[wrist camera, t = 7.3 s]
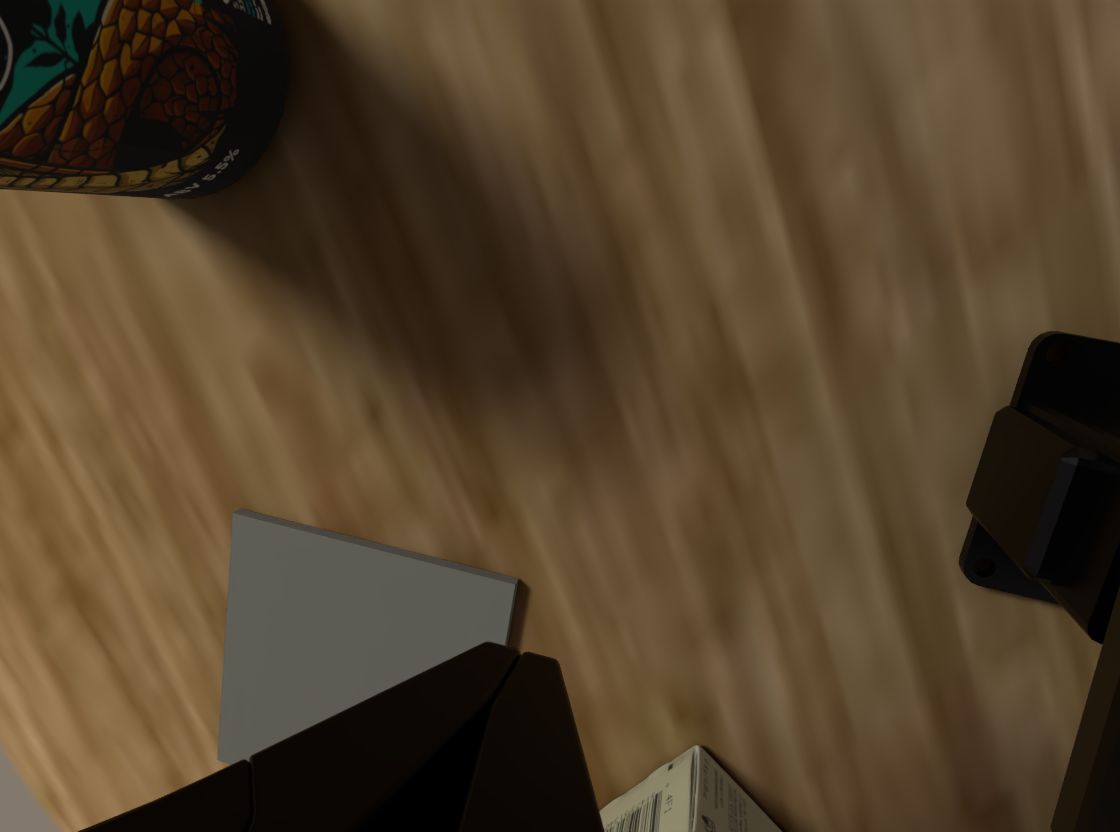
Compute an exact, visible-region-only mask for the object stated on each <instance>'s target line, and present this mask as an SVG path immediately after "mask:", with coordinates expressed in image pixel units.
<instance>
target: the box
mask: <svg viewBox="0 0 1120 832" xmlns="http://www.w3.org/2000/svg"><path fill="white" fill-rule="evenodd" d="M599 812H600V816H601V819H602V823H603V827H604V830H605V832H782V831H781V830H780V829H779V828H778V827H777V826H776V825H775V824H774V822H773V821H772V820H771V819H770V818H769V817H768V816H767V815H766V814H765V813H764V812H763V811H762V810H761V809H760V808H759V807H758V806H757V804H756V803H755V802H754V801H753V800H752V799H751V798H750V797H749V796H748V795H747V794H746V793H745V792H744V791H743V790H742V789H741V788H740V787H739V786H738V785H737V784H736V783H735V781H734V780H733V779H732V778H731V777H730V776H729V775H728V774H727V773H726V772H725V771H724V770H723V769H722V768H721V767H720V766H719V765H718V764H717V763H716V762H715V761H714V760H713V759H712V758H711V757H710V756H709V755H708V753H707V752H706V751H705V750H704V749H703V748H701V747H700V746H698V745H696V746H693V747H692V748H690V749H689V750H687V751H686V752H684V753H683V754H682V755H680V756H679V757H677V758H676V759H674V760H673V761H671V762H669V763H667V764H665V765H663V766H661V767H660V768H658V769H657V770H656V771H654V772H653V773H652V774H651V775H649V776H648V778H647V779H645V780H644V781H642V782H641V783H640V784H638V785H637V786H635V787H634V788H632V789H631V790H630V791H628V792H627V793H625V794H624V795H622V796H620V797H618V798H617V799H615V800H613V801H612V802H611V803H609V804H608V805H607V806H605V807H604V808H603V809H602V810H601V811H599Z"/></svg>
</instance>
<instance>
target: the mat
mask: <svg viewBox="0 0 1120 832" xmlns="http://www.w3.org/2000/svg"><path fill="white" fill-rule="evenodd" d="M518 580H519V579H518V578H514V577H510V576H506V575H502V574H498V573H494V572H490V571H486V570H482V569H478V568H474V567H470V566H466V565H462V564H458V563H454V562H450V561H446V560H442V559H438V558H434V557H430V556H426V555H422V554H418V553H414V552H410V551H406V550H403V549H399V548H395V547H391V546H387V545H383V544H379V543H375V542H371V541H367V540H363V539H359V538H355V537H351V536H347V535H343V534H339V533H335V532H331V531H327V530H323V529H319V528H315V527H311V526H307V525H303V524H299V523H295V522H291V521H287V520H283V519H279V518H275V517H271V516H268V515H264V514H260V513H256V512H252V511H248V510H244V509H239V510H238V511H236V512H234V513H233V521H232V537H231V553H230V569H229V585H228V600H227V616H226V632H225V648H224V664H223V680H222V696H221V712H220V728H219V743H218V759H217V760H219V761H223V762H226V763H229V764H234V763H236V762H238V761H240V760H242V759H246V760H247V761H248V762H249V758H250V756H251V755H253V754H255V753H257V752H259V751H261V750H263V749H265V748H267V747H269V746H271V745H274V744H276V743H278V742H280V741H282V740H284V739H286V738H288V737H290V736H292V735H294V734H296V733H298V732H300V731H302V730H304V729H306V728H309V727H311V726H313V725H315V724H317V723H319V722H321V721H323V720H325V719H327V718H329V717H331V716H333V715H335V714H337V713H339V712H341V711H344V710H346V709H348V708H350V707H352V706H354V705H356V704H358V703H360V702H362V701H364V700H366V699H368V698H370V697H372V696H374V695H376V694H378V693H381V692H383V691H385V690H387V689H389V688H391V687H393V686H395V685H397V684H399V683H401V682H403V681H405V680H407V679H409V678H411V677H413V676H416V675H418V674H420V673H422V672H424V671H426V670H428V669H430V668H432V667H434V666H436V665H438V664H440V663H442V662H444V661H446V660H448V659H451V658H453V657H455V656H457V655H459V654H461V653H463V652H465V651H467V650H469V649H471V648H473V647H475V646H477V645H479V644H481V643H484V642H494V643H497V644H501V645H505V646H507V645H508V639H509V633H510V627H511V621H512V615H513V609H514V604H515V598H516V592H517V586H518Z"/></svg>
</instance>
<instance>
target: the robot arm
mask: <svg viewBox="0 0 1120 832" xmlns="http://www.w3.org/2000/svg"><path fill="white" fill-rule="evenodd" d="M1054 344H1060V345H1061V347H1062V348H1063V354H1062V356H1061V357H1060V359H1059V360H1057V361H1055V362H1051V363H1048V361H1047V359H1046V351H1047V350H1048V348H1049V347H1051V346H1052V345H1054ZM966 506H967V507H968V509H969V510H970V512H971V514H972V515H973V517H972V520H971V524H970V527H969V530H968V533H967V536H966V539H965V542H964V545H963V548H962V551H961V554H960V557H959V566H960V568H961V571H962V572H963V574H964V575H965V576H966V578H967V579H968V580H969V581H970V582H971V583H974V584H976V585H978V586H982V587H987V588H991V589H995V590H1000V591H1004V592H1008V593H1013V594H1017V595H1021V596H1025V597H1030V598H1034V599H1038V600H1043V601H1047V602H1051V603H1056V604H1060V605H1061V606H1062V607H1063V608H1064V609H1065V610H1066V612H1067V613H1068V614H1069V615H1070V616H1071V617H1072V618H1073V619H1074V620H1075V621H1076V623H1077V624H1078V625H1079V626H1080V627H1081V628H1082V629H1083V630H1084V631H1085V633H1086V634H1087V635H1088V636H1089V637H1090V638H1091V639H1092V640H1094V641H1096V642H1098V643H1100V644H1103V645H1102V649H1101V652H1100V656H1099V659H1098V663H1097V666H1096V670H1095V673H1094V677H1093V680H1092V684H1091V687H1090V691H1089V694H1088V698H1087V701H1086V705H1085V708H1084V712H1083V715H1082V719H1081V722H1080V726H1079V729H1078V733H1077V736H1076V740H1075V743H1074V747H1073V750H1072V754H1071V757H1070V761H1069V764H1068V768H1067V771H1066V774H1065V778H1064V781H1063V785H1062V788H1061V792H1060V795H1059V799H1058V802H1057V806H1056V809H1055V813H1054V816H1053V820H1052V823H1051V830H1052V832H1120V343H1119V342H1113V341H1108V340H1102V339H1097V338H1091V337H1086V336H1080V335H1075V334H1069V333H1064V332H1058V331H1048V332H1046V333H1043V334H1040V335H1039V336H1038V337H1036V338H1035V339H1034V340H1033V341H1032V343H1031V345H1030V346H1029V348H1028V351H1027V354H1026V357H1025V360H1024V363H1023V366H1022V369H1021V372H1020V375H1019V378H1018V381H1017V384H1016V387H1015V391H1014V394H1013V397H1012V400H1011V403H1010V406H1006V407H1004V408H1003V409H1001V410H999V411H998V412H996V413H995V416H994V419H993V422H992V425H991V428H990V431H989V434H988V437H987V440H986V443H985V446H984V449H983V453H982V456H981V459H980V462H979V465H978V468H977V471H976V474H975V477H974V480H973V483H972V486H971V489H970V492H969V495H968V498H967V502H966ZM982 558H988V559H990V560H991V564H990V565H989V567H988V568H987V569H985V570H983V571H977V570H975V569H974V565H975V563H976V562H977V561H978V560H980V559H982ZM78 832H605V830H604V827H603V823H602V819H601V816H600V812H599V808H598V804H597V801H596V797H595V793H594V790H593V786H592V782H591V779H590V775H589V771H588V767H587V764H586V760H585V756H584V753H583V749H582V745H581V742H580V738H579V734H578V731H577V727H576V723H575V719H574V716H573V712H572V708H571V705H570V701H569V697H568V694H567V690H566V686H565V682H564V679H563V675H562V671H561V668H560V664H559V662H558V661H557V660H556V659H554V658H550V657H546V656H543V655H539V654H535V653H531V652H524V653H523V654H522V655H521V654H520V651H519V650H517V649H516V648H512V647H509V646H505V645H501V644H497V643H494V642H484V643H481V644H479V645H477V646H475V647H473V648H471V649H469V650H467V651H465V652H463V653H461V654H459V655H457V656H455V657H453V658H451V659H448V660H446V661H444V662H442V663H440V664H438V665H436V666H434V667H432V668H430V669H428V670H426V671H424V672H422V673H420V674H418V675H416V676H413V677H411V678H409V679H407V680H405V681H403V682H401V683H399V684H397V685H395V686H393V687H391V688H389V689H387V690H385V691H383V692H381V693H378V694H376V695H374V696H372V697H370V698H368V699H366V700H364V701H362V702H360V703H358V704H356V705H354V706H352V707H350V708H348V709H346V710H344V711H341V712H339V713H337V714H335V715H333V716H331V717H329V718H327V719H325V720H323V721H321V722H319V723H317V724H315V725H313V726H311V727H309V728H306V729H304V730H302V731H300V732H298V733H296V734H294V735H292V736H290V737H288V738H286V739H284V740H282V741H280V742H278V743H276V744H274V745H271V746H269V747H267V748H265V749H263V750H261V751H259V752H257V753H255V754H253V755H251V756H250V758H249V762H248V761H247V760H246V759H242V760H240V761H238V762H236V763H234V764H232V765H230V766H228V767H226V768H223V769H221V770H219V771H217V772H215V773H213V774H211V775H209V776H207V777H205V778H202V779H200V780H198V781H196V782H194V783H192V784H189V785H187V786H185V787H183V788H181V789H178V790H176V791H174V792H172V793H170V794H167V795H165V796H163V797H161V798H159V799H157V800H154V801H152V802H149V803H147V804H145V805H142V806H140V807H137V808H135V809H132V810H130V811H127V812H125V813H122V814H120V815H118V816H115V817H113V818H110V819H108V820H105V821H103V822H100V823H98V824H96V825H93V826H91V827H88V828H86V829H83V830H80V831H78Z"/></svg>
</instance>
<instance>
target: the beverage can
mask: <svg viewBox="0 0 1120 832" xmlns="http://www.w3.org/2000/svg"><path fill="white" fill-rule="evenodd" d="M288 58H289V57H288V51H287V45H286V38H285V32H284V26H283V24H282V21H281V18H280V15H279V12H278V9H277V7H276V4H275V1H274V0H0V189H11V190H28V191H45V192H62V193H79V194H97V195H114V196H131V197H148V198H165V199H193V198H197V197H201V196H204V195H208V194H212V193H216V192H218V191H219V190H221V189H223V188H225V187H227V186H228V185H230V184H232V183H234V182H236V181H237V180H238V179H239V178H241V177H242V176H243V175H244V174H245V173H246V172H247V171H248V170H249V169H250V168H251V167H253V166H254V165H255V164H256V163H257V162H258V160H259V159H260V157H261V156H262V154H263V153H264V151H265V150H266V148H267V147H268V145H269V144H270V143H271V141H272V139H273V137H274V134H275V132H276V129H277V127H278V124H279V122H280V120H281V117H282V114H283V109H284V104H285V99H286V94H287V90H288Z"/></svg>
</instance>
